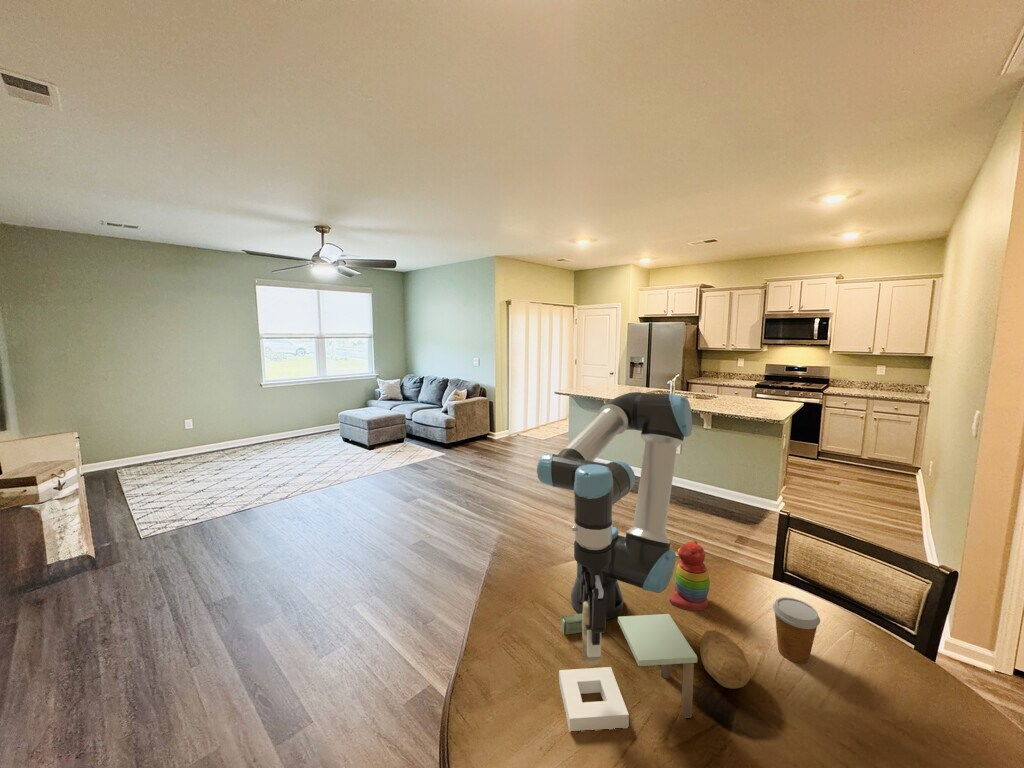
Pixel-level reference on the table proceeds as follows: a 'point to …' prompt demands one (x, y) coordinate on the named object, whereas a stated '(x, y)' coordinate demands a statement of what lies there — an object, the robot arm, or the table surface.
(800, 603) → the disposable coffee cup
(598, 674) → the socket block
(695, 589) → the stacking bear
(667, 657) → the mint green toy table
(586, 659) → the peg
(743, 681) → the potato
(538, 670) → the table surface
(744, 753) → the table surface
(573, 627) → the medication box
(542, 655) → the table surface
